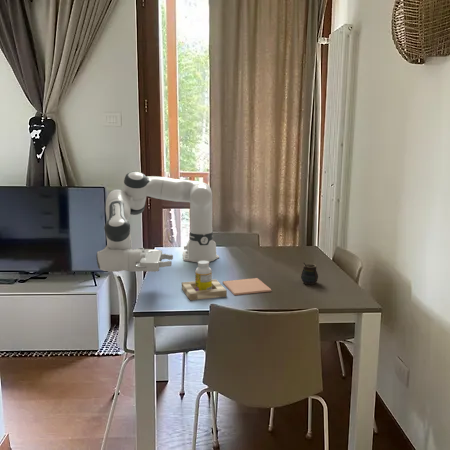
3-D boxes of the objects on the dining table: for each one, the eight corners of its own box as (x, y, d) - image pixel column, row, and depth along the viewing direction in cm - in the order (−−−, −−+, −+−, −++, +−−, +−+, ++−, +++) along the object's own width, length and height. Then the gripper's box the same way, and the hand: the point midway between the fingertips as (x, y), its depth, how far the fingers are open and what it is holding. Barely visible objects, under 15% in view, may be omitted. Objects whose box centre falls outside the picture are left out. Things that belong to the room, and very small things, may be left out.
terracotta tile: (222, 283, 205) (222, 281, 204) (257, 279, 209) (257, 278, 209) (234, 295, 190) (234, 293, 190) (271, 291, 194) (271, 289, 194)
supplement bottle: (195, 289, 196) (195, 259, 193) (211, 289, 197) (211, 259, 194) (195, 295, 189) (195, 264, 187) (212, 294, 190) (212, 264, 187)
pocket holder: (181, 288, 198) (181, 282, 197) (215, 284, 202) (216, 279, 202) (189, 300, 184) (189, 294, 183) (226, 296, 188) (226, 290, 188)
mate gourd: (321, 283, 205) (322, 261, 203) (311, 287, 200) (312, 264, 198) (307, 279, 210) (308, 257, 208) (297, 283, 205) (298, 261, 203)
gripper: (133, 259, 178) (170, 259, 179) (140, 246, 198) (173, 246, 199) (134, 275, 179) (170, 275, 180) (140, 261, 199) (173, 261, 200)
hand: (172, 260), depth 189 cm, fingers open, 8 cm apart
